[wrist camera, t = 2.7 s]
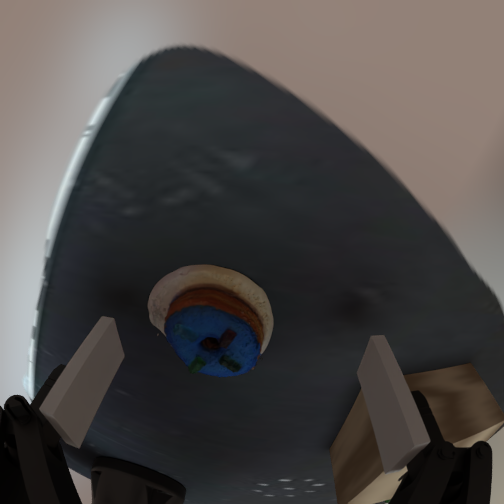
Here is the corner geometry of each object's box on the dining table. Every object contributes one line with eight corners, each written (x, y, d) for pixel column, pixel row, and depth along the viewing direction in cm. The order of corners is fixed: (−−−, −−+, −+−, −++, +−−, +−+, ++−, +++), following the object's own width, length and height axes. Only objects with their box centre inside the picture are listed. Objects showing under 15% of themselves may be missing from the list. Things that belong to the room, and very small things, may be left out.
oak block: (329, 448, 24) (338, 510, 17) (364, 377, 19) (392, 462, 12) (420, 431, 24) (439, 482, 16) (469, 361, 19) (506, 419, 12)
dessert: (306, 307, 16) (267, 403, 13) (258, 329, 21) (225, 398, 18) (186, 229, 15) (121, 320, 12) (168, 273, 20) (124, 339, 17)
